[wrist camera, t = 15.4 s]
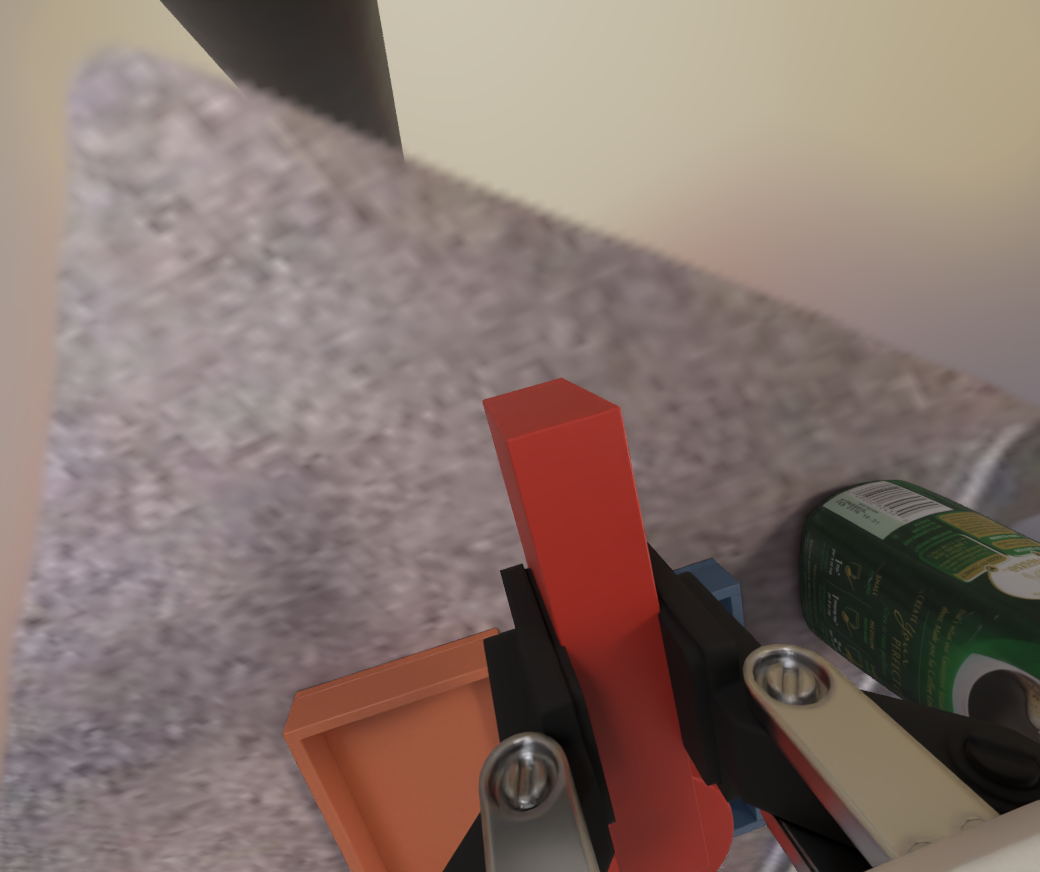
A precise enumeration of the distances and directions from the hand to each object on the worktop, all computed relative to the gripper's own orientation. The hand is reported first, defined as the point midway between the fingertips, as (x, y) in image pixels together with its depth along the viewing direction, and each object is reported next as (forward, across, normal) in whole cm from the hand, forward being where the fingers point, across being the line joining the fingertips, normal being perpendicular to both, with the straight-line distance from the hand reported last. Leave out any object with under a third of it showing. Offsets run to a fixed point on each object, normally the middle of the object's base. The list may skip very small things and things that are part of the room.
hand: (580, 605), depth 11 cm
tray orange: (+12, +8, +18) cm, 23 cm away
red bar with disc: (+1, 0, +2) cm, 2 cm away
